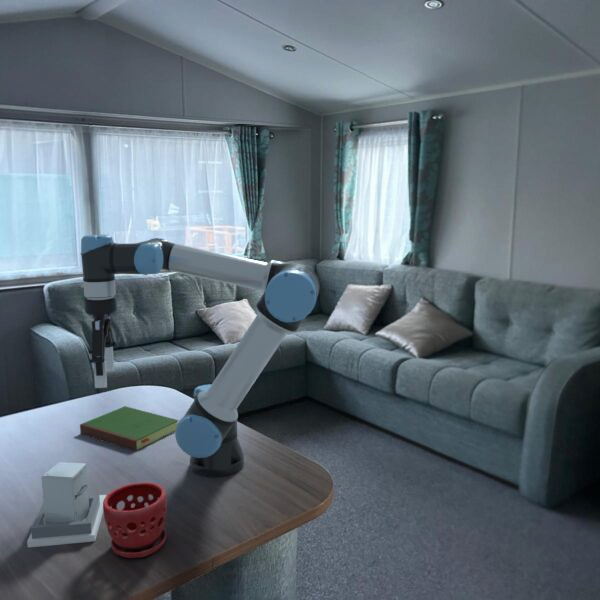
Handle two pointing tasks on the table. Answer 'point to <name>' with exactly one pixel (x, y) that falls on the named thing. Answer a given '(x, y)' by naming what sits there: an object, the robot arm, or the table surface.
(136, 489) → the plant pot
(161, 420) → the hardcover book
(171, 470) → the table surface
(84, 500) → the supplement box
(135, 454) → the table surface
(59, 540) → the plate
